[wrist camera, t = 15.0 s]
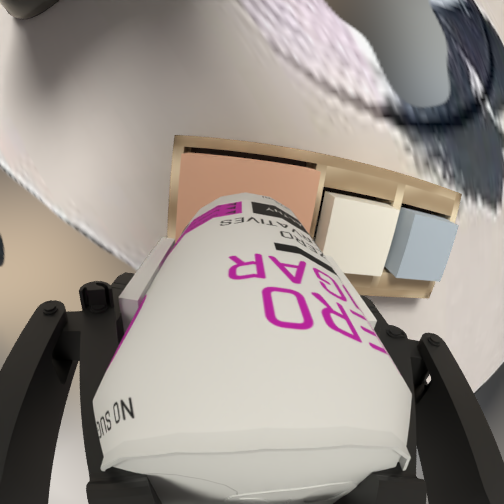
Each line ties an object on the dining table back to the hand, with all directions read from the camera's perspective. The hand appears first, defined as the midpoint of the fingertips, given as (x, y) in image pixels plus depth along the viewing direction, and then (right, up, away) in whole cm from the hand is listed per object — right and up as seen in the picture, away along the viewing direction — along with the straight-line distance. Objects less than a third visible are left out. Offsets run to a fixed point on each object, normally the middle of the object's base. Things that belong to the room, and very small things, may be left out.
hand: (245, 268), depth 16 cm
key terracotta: (0, +5, +11) cm, 12 cm away
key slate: (+19, +3, +14) cm, 24 cm away
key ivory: (+10, +4, +13) cm, 17 cm away
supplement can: (0, +1, +2) cm, 2 cm away
